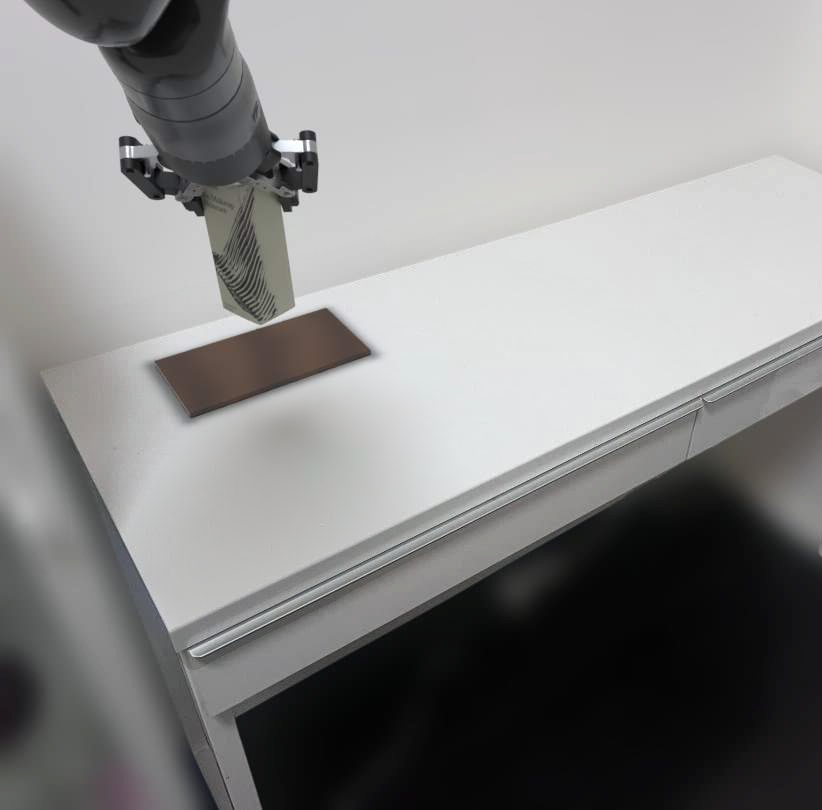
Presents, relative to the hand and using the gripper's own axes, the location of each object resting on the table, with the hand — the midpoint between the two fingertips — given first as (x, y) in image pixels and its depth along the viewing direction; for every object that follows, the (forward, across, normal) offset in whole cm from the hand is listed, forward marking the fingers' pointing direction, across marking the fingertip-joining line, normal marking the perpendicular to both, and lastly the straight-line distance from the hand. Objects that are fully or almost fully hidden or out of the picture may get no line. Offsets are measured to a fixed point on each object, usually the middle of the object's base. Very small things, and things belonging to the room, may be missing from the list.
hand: (244, 203), depth 68 cm
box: (+6, 0, +8) cm, 10 cm away
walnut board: (+22, +2, +9) cm, 24 cm away
